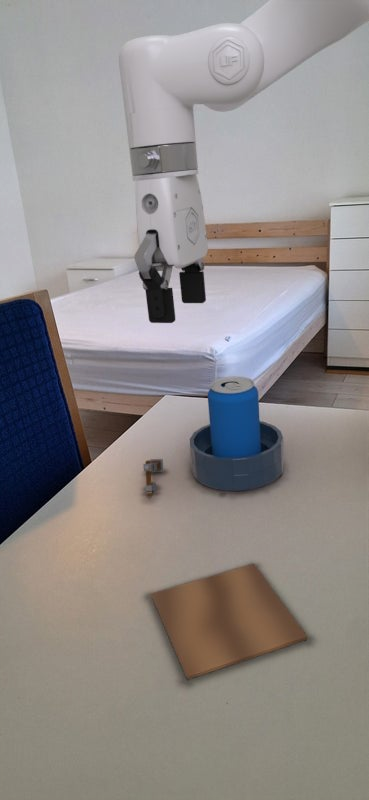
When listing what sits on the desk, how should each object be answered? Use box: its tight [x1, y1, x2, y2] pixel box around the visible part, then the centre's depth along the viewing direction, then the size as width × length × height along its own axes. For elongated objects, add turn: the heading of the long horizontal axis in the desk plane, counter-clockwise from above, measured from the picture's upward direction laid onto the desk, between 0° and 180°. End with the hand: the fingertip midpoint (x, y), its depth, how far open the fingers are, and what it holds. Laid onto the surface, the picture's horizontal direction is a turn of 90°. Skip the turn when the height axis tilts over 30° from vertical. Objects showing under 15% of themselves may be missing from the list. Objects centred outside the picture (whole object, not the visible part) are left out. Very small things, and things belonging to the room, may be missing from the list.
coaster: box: [150, 563, 308, 680], centre depth 55 cm, size 11×11×1 cm
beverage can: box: [207, 375, 261, 458], centre depth 78 cm, size 6×6×12 cm
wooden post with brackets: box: [142, 458, 164, 498], centre depth 78 cm, size 2×8×4 cm, turn 175°
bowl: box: [189, 420, 285, 492], centre depth 80 cm, size 12×12×5 cm
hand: (179, 311), depth 74 cm, fingers open, 9 cm apart
